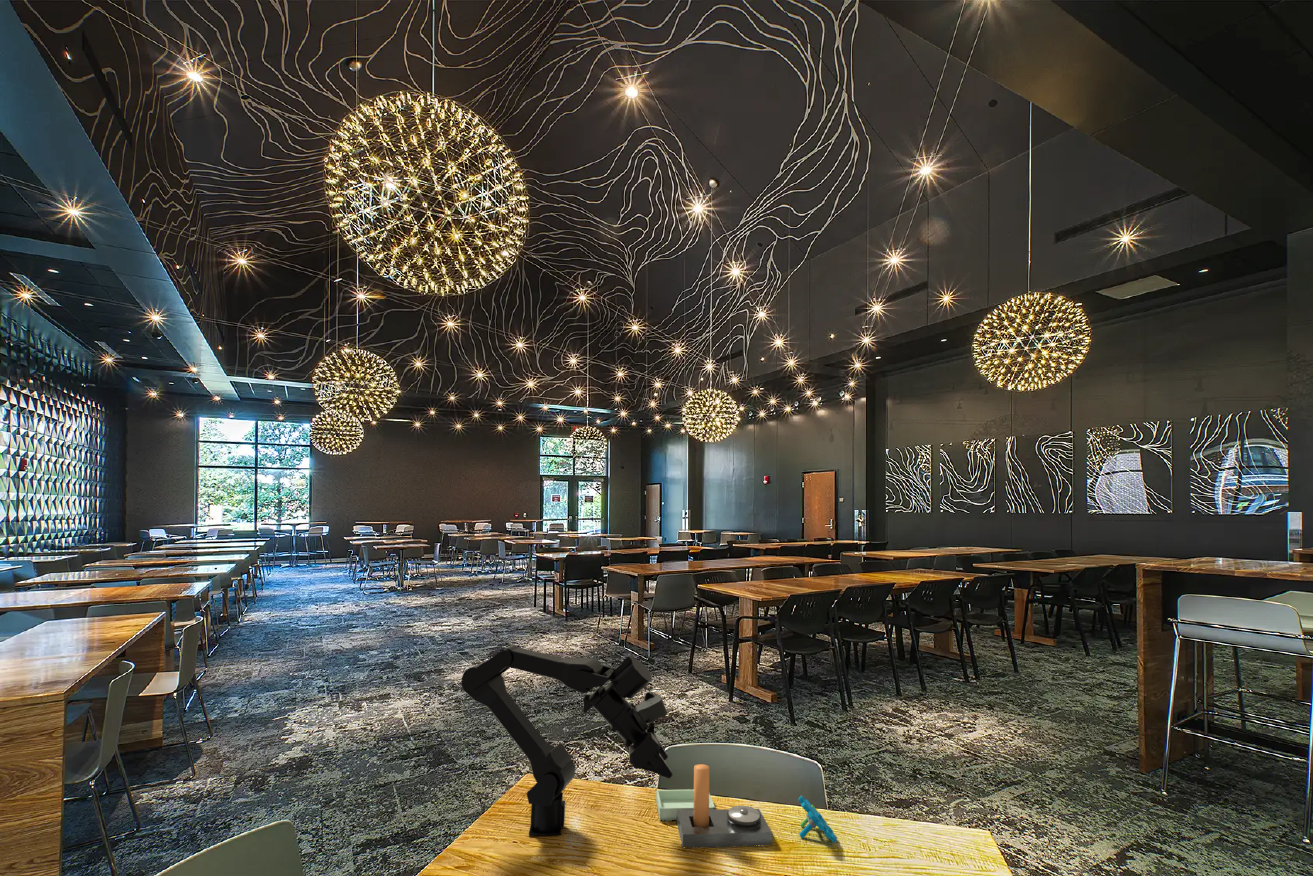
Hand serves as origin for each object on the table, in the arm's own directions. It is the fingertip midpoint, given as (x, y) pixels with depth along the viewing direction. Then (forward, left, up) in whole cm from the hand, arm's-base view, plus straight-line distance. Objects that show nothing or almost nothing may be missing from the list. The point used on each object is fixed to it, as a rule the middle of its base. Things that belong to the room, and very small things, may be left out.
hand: (668, 767), depth 124 cm
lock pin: (+7, 0, -13) cm, 15 cm away
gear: (+31, -2, -13) cm, 34 cm away
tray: (+5, +11, -13) cm, 18 cm away
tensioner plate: (+11, 0, -13) cm, 17 cm away
